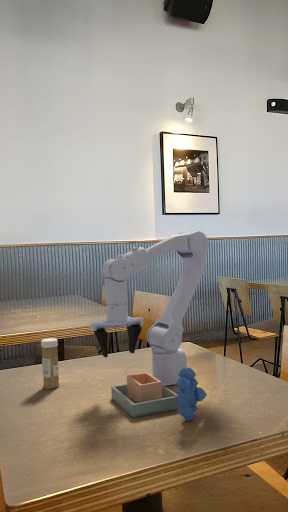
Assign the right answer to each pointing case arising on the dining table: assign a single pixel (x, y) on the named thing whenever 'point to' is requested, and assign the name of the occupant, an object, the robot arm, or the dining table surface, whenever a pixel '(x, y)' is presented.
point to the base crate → (147, 407)
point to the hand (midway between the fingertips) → (118, 354)
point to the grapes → (188, 393)
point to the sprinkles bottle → (50, 363)
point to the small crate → (143, 388)
